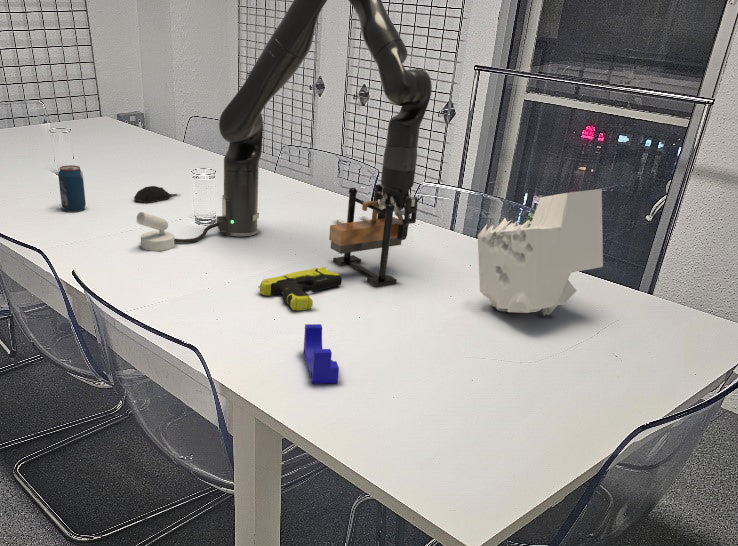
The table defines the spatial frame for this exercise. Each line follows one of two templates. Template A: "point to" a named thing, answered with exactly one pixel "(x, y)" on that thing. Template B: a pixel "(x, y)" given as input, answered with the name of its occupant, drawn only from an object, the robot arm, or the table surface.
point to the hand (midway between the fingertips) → (390, 234)
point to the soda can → (71, 188)
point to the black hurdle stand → (354, 260)
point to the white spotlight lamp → (155, 233)
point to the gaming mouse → (152, 194)
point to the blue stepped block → (318, 356)
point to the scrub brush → (362, 233)
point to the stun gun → (300, 286)
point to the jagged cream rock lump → (541, 253)
